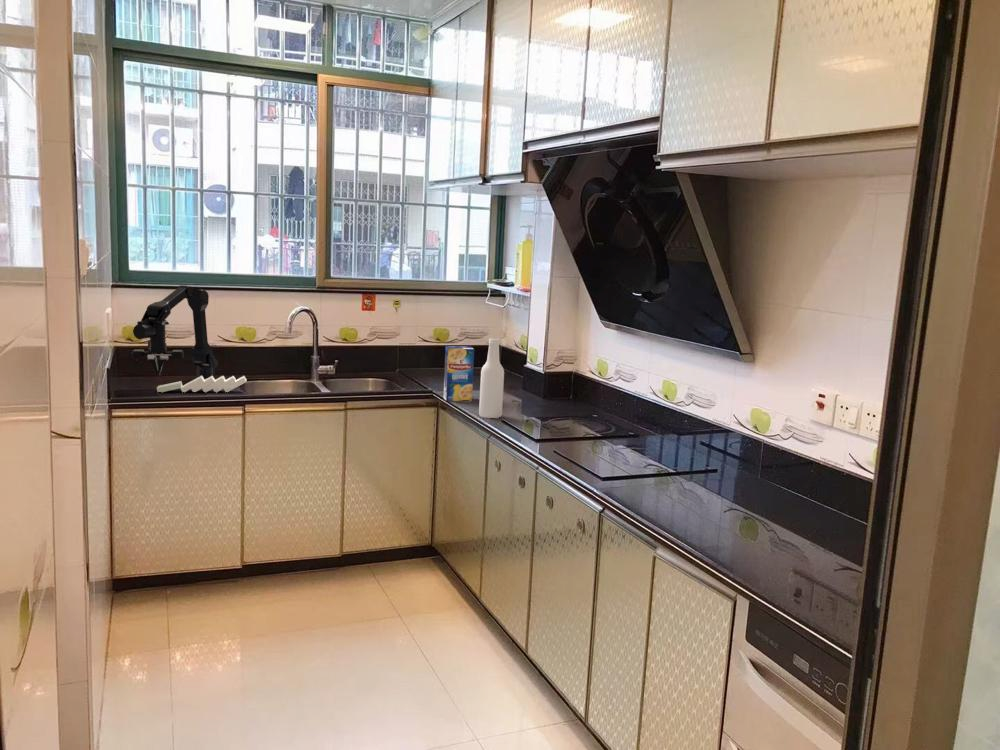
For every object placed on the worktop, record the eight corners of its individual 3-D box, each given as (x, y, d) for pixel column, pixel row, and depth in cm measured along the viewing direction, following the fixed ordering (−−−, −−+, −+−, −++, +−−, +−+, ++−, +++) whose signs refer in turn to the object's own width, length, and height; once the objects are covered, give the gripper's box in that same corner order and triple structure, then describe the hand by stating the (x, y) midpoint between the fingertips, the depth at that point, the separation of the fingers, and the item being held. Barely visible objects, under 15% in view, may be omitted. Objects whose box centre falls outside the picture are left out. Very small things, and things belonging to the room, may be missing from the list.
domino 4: (201, 388, 326) (222, 377, 327) (202, 386, 330) (223, 375, 332) (204, 392, 326) (225, 382, 328) (205, 390, 331) (225, 379, 332)
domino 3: (191, 388, 325) (211, 377, 326) (192, 386, 329) (212, 375, 331) (193, 392, 325) (214, 382, 327) (194, 390, 330) (215, 379, 331)
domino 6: (223, 388, 328) (243, 377, 329) (224, 386, 333) (244, 375, 334) (226, 392, 329) (246, 381, 330) (226, 390, 333) (246, 379, 335)
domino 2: (180, 388, 323) (201, 377, 325) (181, 386, 328) (202, 375, 330) (183, 392, 324) (203, 381, 325) (184, 390, 329) (204, 379, 330)
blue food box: (472, 401, 339) (474, 349, 335) (446, 401, 336) (448, 348, 332) (468, 397, 345) (471, 346, 341) (443, 397, 342) (445, 346, 339)
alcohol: (480, 418, 307) (484, 339, 302) (477, 413, 315) (481, 336, 310) (503, 419, 308) (507, 340, 303) (499, 414, 317) (504, 337, 312)
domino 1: (156, 388, 321) (180, 383, 323) (158, 385, 326) (181, 381, 328) (157, 393, 322) (181, 388, 324) (159, 390, 326) (182, 385, 328)
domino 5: (212, 388, 327) (233, 377, 328) (213, 386, 332) (233, 375, 333) (215, 392, 327) (235, 382, 329) (216, 390, 332) (236, 379, 334)
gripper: (184, 334, 330) (185, 372, 333) (135, 333, 325) (135, 372, 328) (182, 338, 320) (182, 377, 322) (130, 337, 315) (131, 376, 317)
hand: (158, 375), depth 323 cm, fingers closed
